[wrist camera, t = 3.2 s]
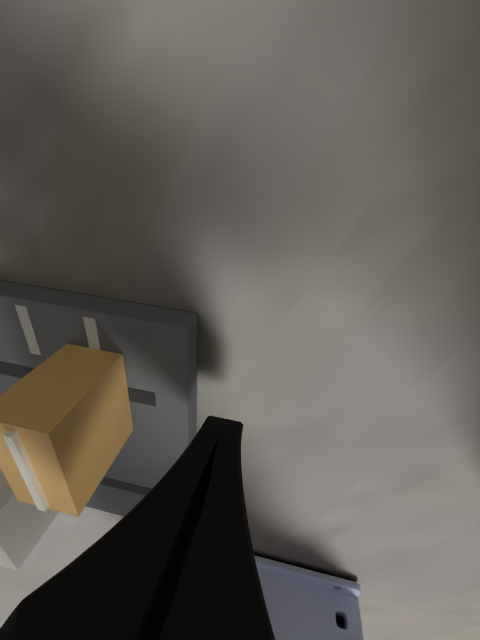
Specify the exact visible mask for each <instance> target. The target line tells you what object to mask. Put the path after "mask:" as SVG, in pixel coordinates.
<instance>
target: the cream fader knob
mask: <svg viewBox="0 0 480 640" xmlns="http://www.w3.org/2000/svg"><path fill="white" fill-rule="evenodd" d="M57 513H58V511H55V510H51V509H47V510H46V512H45V511H41V510H38V509H37V506H36V505H32V504H28V503H25V502H21V501H18V500H17V498H16V496H15V495H14V493H13V491H12V489H11V487H10V485H9V483H8V481H7V479H6V478H5V476H4V474H3V472H2V470H1V468H0V565H1V566H4V567H7V568H11V569H14V570H17V571H18V569H19V568H20V566H21V565H22V563H23V562H24V561H25V559H26V558H27V556H28V555H29V553H30V552H31V551H32V549H33V548H34V546H35V545H36V543H37V542H38V540H39V539H40V538H41V536H42V535H43V533H44V532H45V530H46V529H47V527H48V526H49V525H50V523H51V522H52V520H53V519H54V517H55V516H56V515H57Z"/></svg>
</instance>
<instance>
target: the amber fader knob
mask: <svg viewBox="0 0 480 640" xmlns="http://www.w3.org/2000/svg"><path fill="white" fill-rule="evenodd" d="M132 431H133V422H132V415H131V408H130V401H129V394H128V387H127V380H126V373H125V366H124V359H123V354H119V353H114V352H109V351H103V350H98V349H93V348H88V347H82V346H77V345H72V344H66V345H65V346H63V347H62V348H61V349H59V350H58V351H57V352H56V353H54V354H53V355H52V356H50V357H49V358H48V359H47V360H45V361H44V362H43V363H41V364H40V365H39V366H38V367H36V368H35V369H34V370H32V371H31V372H30V373H28V374H27V375H26V376H25V377H23V378H22V379H21V380H19V381H18V382H17V383H16V384H14V385H13V386H12V387H10V388H9V389H8V390H7V391H5V392H4V393H3V394H1V395H0V468H1V470H2V472H3V474H4V476H5V478H6V479H7V481H8V483H9V485H10V487H11V489H12V491H13V493H14V495H15V496H16V498H17V500H18V501H21V502H25V503H28V504H32V505H36V506H37V509H38V510H41V511H45V512H46V510H47V509H51V510H55V511H58V512H62V513H66V514H70V515H73V516H77V517H79V515H80V514H81V512H82V511H83V509H84V507H85V506H86V504H87V503H88V501H89V499H90V498H91V496H92V495H93V493H94V491H95V490H96V488H97V487H98V485H99V484H100V482H101V480H102V479H103V477H104V476H105V474H106V472H107V471H108V469H109V468H110V466H111V464H112V463H113V461H114V460H115V458H116V456H117V455H118V453H119V452H120V450H121V448H122V447H123V445H124V444H125V442H126V441H127V439H128V437H129V436H130V434H131V433H132Z"/></svg>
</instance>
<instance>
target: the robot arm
mask: <svg viewBox="0 0 480 640" xmlns="http://www.w3.org/2000/svg"><path fill="white" fill-rule="evenodd" d="M242 430H243V424H242V423H241V422H238V421H233V420H228V419H224V418H219V417H214V416H209V417H207V418H206V420H205V422H204V424H203V425H202V427H201V428H200V430H199V431H198V433H197V434H196V436H195V437H194V439H193V440H192V441H191V443H190V444H189V445H188V447H187V448H186V449H185V451H184V452H183V453H182V454H181V456H180V457H179V458H178V460H177V461H176V462H175V463H174V464H173V466H172V467H171V468H170V469H169V470H168V471H167V473H166V474H165V475H164V476H163V477H162V478H161V479H160V481H159V482H158V483H157V484H156V485H155V486H154V487H153V488H152V489H151V490H150V492H149V493H148V494H147V495H146V496H145V497H144V498H143V499H142V500H141V501H140V502H139V503H138V504H137V505H136V506H135V507H134V508H133V509H132V510H131V511H130V512H129V513H128V514H127V515H125V516H124V517H123V518H122V519H121V520H120V521H119V522H118V523H117V524H116V525H115V526H114V527H113V528H111V529H110V530H109V531H108V532H107V533H106V534H105V535H104V536H102V537H101V538H100V539H99V540H98V541H97V542H95V543H94V544H93V545H92V546H91V547H89V548H88V549H87V550H86V551H85V552H83V553H82V554H81V555H80V556H79V557H77V558H76V559H75V560H74V561H73V562H71V563H70V564H69V565H68V566H66V567H65V568H64V569H62V570H61V571H60V572H59V573H57V574H56V575H55V576H53V577H52V578H51V579H49V580H48V581H47V582H45V583H44V584H43V585H41V586H40V587H39V588H37V589H36V590H35V591H33V592H32V593H31V594H29V595H28V596H27V597H25V598H24V599H23V600H22V601H21V602H20V603H19V605H18V606H17V607H16V608H15V610H14V611H13V612H12V613H11V615H10V616H9V617H8V619H7V620H6V621H5V623H4V624H3V626H2V627H1V628H0V640H363V633H362V625H361V617H360V609H359V602H358V596H359V595H360V593H361V589H360V585H359V584H358V583H356V582H354V581H350V580H346V579H342V578H338V577H335V576H331V575H327V574H323V573H319V572H316V571H312V570H308V569H304V568H301V567H297V566H293V565H289V564H285V563H282V562H278V561H274V560H270V559H267V558H263V557H259V556H255V555H254V552H253V547H252V542H251V537H250V532H249V526H248V520H247V514H246V507H245V500H244V492H243V483H242V469H241V437H242Z"/></svg>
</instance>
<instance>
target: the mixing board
mask: <svg viewBox="0 0 480 640" xmlns="http://www.w3.org/2000/svg"><path fill="white" fill-rule="evenodd" d="M197 333H198V313H192V312H186V311H180V310H174V309H168V308H162V307H156V306H150V305H144V304H138V303H132V302H126V301H120V300H114V299H108V298H102V297H96V296H90V295H84V294H78V293H72V292H66V291H60V290H54V289H48V288H42V287H36V286H30V285H24V284H18V283H12V282H6V281H0V395H1V394H3V393H4V392H5V391H7V390H8V389H9V388H10V387H12V386H13V385H14V384H16V383H17V382H18V381H19V380H21V379H22V378H23V377H25V376H26V375H27V374H28V373H30V372H31V371H32V370H34V369H35V368H36V367H38V366H39V365H40V364H41V363H43V362H44V361H45V360H47V359H48V358H49V357H50V356H52V355H53V354H54V353H56V352H57V351H58V350H59V349H61V348H62V347H63V346H65V345H66V344H72V345H77V346H82V347H88V348H93V349H98V350H103V351H109V352H114V353H119V354H123V359H124V366H125V373H126V380H127V387H128V394H129V401H130V408H131V415H132V422H133V431H132V433H131V434H130V436H129V437H128V439H127V441H126V442H125V444H124V445H123V447H122V448H121V450H120V452H119V453H118V455H117V456H116V458H115V460H114V461H113V463H112V464H111V466H110V468H109V469H108V471H107V472H106V474H105V476H104V477H103V479H102V480H101V482H100V484H99V485H98V487H97V488H96V490H95V491H94V493H93V495H92V496H91V498H90V499H89V501H88V503H87V504H86V506H87V507H91V508H95V509H98V510H102V511H106V512H110V513H114V514H117V515H121V516H125V515H127V514H128V513H129V512H130V511H131V510H132V509H133V508H134V507H135V506H136V505H137V504H138V503H139V502H140V501H141V500H142V499H143V498H144V497H145V496H146V495H147V494H148V493H149V492H150V490H151V489H152V488H153V487H154V486H155V485H156V484H157V483H158V482H159V481H160V479H161V478H162V477H163V476H164V475H165V474H166V473H167V471H168V470H169V469H170V468H171V467H172V466H173V464H174V463H175V462H176V461H177V460H178V458H179V457H180V456H181V454H182V453H183V452H184V451H185V449H186V448H187V447H188V445H189V444H190V443H191V441H192V440H193V439H194V437H195V436H196V405H197Z"/></svg>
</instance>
